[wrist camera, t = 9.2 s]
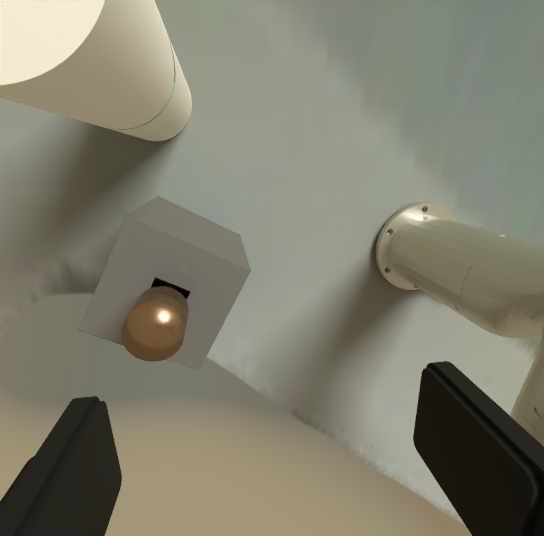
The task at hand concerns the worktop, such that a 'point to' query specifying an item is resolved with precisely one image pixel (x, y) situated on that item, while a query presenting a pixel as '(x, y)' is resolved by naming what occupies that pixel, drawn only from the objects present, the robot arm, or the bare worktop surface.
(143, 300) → the plunger
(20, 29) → the container
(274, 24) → the worktop surface
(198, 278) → the grey box
